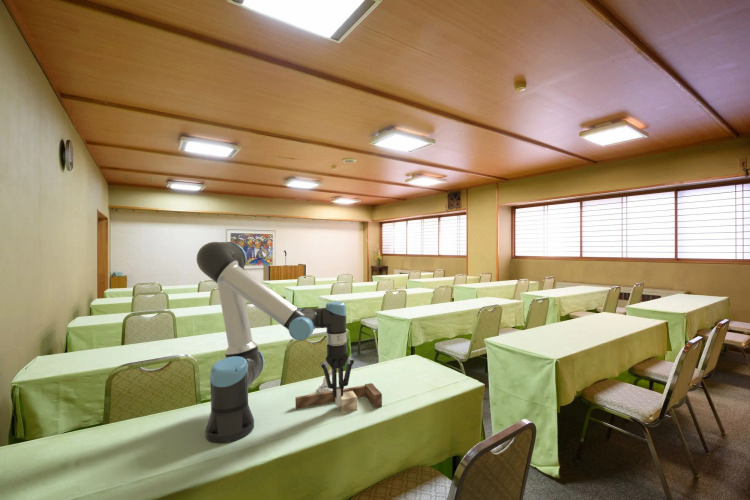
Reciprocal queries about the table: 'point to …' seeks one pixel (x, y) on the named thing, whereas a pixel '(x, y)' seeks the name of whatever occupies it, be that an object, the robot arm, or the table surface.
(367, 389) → the guide rail
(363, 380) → the table surface
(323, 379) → the hook
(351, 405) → the beige wooden block
